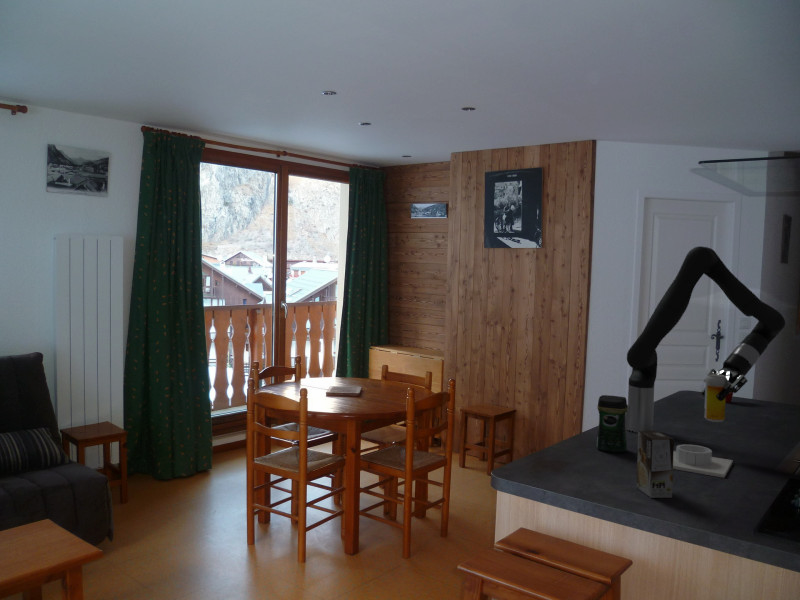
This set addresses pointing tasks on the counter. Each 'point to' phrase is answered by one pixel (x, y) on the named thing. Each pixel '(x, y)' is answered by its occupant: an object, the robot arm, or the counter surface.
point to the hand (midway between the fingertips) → (710, 397)
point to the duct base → (706, 470)
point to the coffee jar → (612, 423)
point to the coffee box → (655, 464)
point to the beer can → (714, 398)
